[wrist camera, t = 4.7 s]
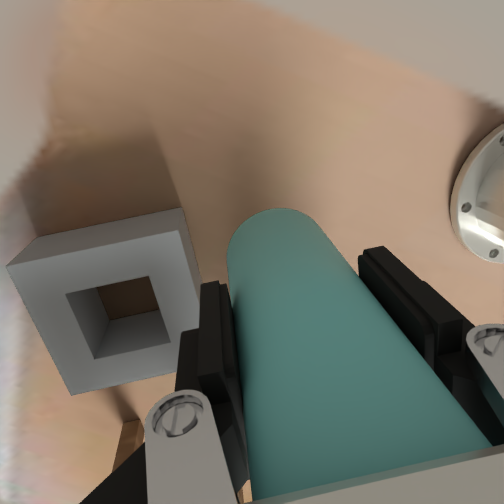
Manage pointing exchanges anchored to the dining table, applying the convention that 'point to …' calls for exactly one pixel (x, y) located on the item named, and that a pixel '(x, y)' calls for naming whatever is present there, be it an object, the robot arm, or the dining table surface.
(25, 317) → the dining table surface
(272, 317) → the peg
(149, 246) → the socket block
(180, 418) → the robot arm
